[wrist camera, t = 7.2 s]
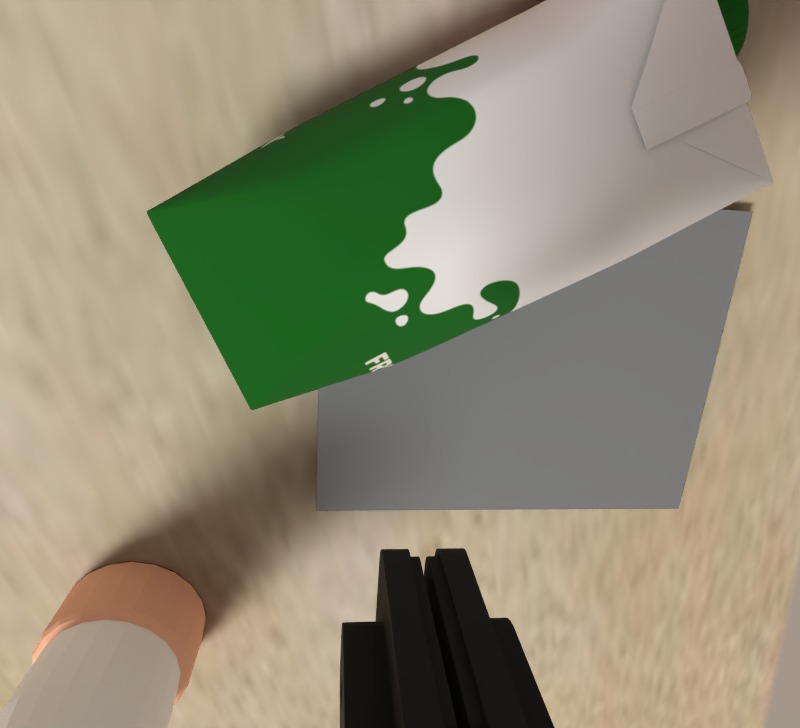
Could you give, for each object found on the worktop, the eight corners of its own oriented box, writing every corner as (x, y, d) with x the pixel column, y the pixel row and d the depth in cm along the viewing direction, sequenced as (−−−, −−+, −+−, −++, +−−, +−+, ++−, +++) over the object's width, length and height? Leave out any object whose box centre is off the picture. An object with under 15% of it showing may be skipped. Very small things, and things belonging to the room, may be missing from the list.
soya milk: (214, 209, 25) (633, 1, 23) (305, 387, 26) (704, 203, 25) (113, 179, 16) (771, -156, 14) (257, 448, 18) (869, 170, 16)
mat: (323, 182, 24) (322, 182, 23) (743, 211, 26) (752, 211, 26) (316, 504, 29) (316, 510, 28) (672, 502, 31) (678, 508, 31)
